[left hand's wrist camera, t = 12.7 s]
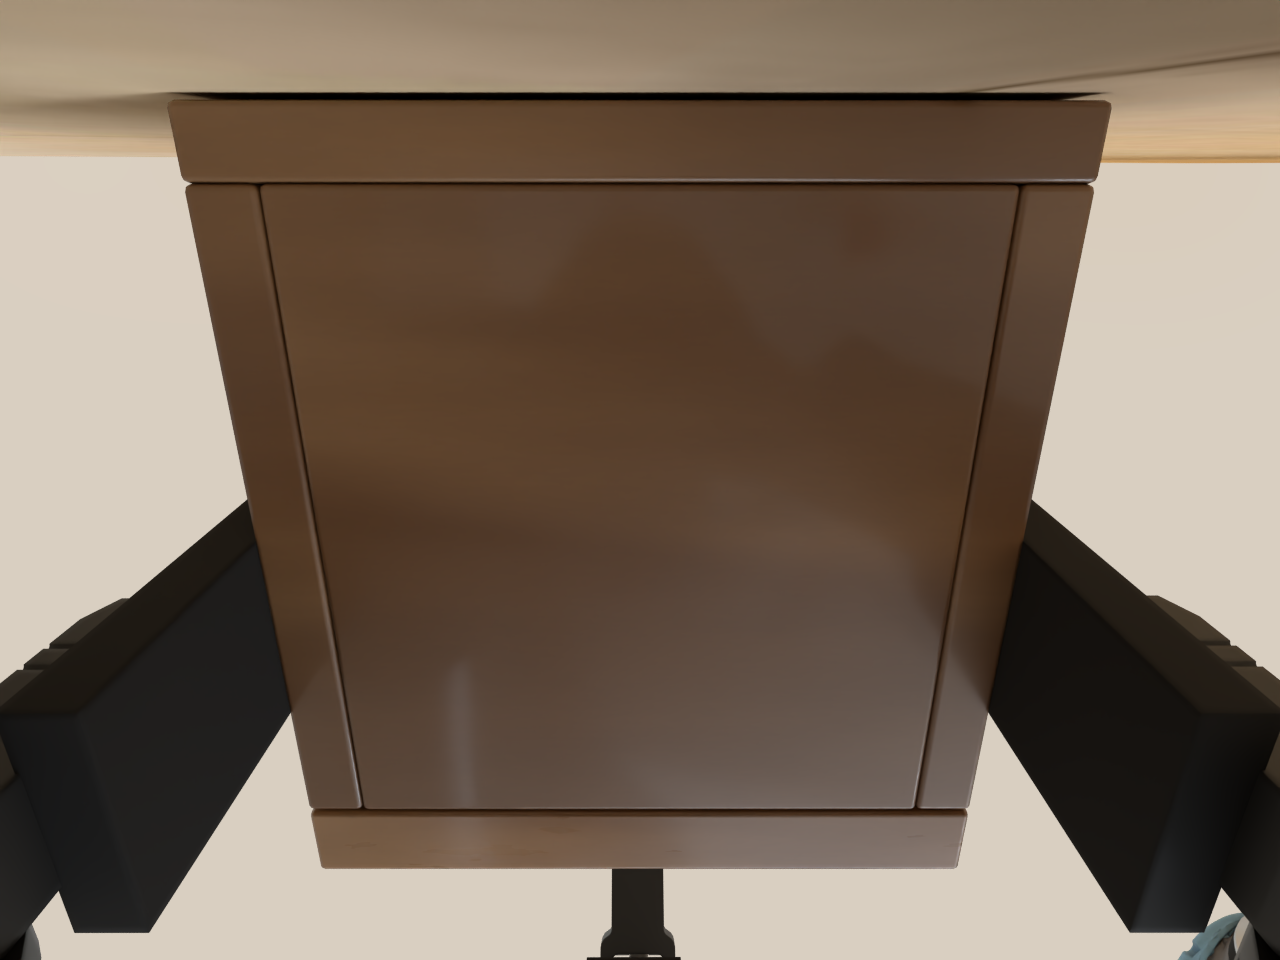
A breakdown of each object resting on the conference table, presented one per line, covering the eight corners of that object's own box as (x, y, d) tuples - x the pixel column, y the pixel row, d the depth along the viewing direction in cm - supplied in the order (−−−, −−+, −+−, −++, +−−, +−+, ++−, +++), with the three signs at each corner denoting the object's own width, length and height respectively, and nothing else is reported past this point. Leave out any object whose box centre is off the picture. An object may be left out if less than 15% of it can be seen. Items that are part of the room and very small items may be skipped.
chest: (810, 144, 23) (786, 455, 26) (468, 144, 23) (491, 455, 26) (1115, 100, 8) (970, 811, 12) (162, 99, 8) (307, 811, 12)
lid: (784, 452, 27) (768, 660, 30) (494, 452, 27) (509, 660, 30) (969, 813, 12) (899, 1157, 15) (308, 814, 12) (378, 1157, 15)
